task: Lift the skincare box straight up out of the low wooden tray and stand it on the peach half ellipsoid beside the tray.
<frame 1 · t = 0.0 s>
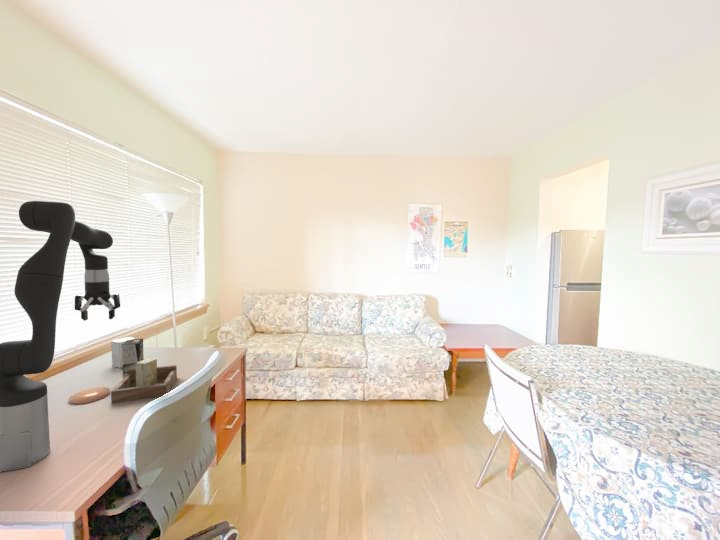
hand: (98, 319, 122), 29 cm above the table, tool pointing down, fingers open, 8 cm apart
coffee box: (133, 375, 137), on the table
skincare box: (147, 389, 124), resting in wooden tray
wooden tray: (147, 389, 124), on the table
peach half ellipsoid: (90, 396, 117), on the table
small box: (124, 365, 150), on the table
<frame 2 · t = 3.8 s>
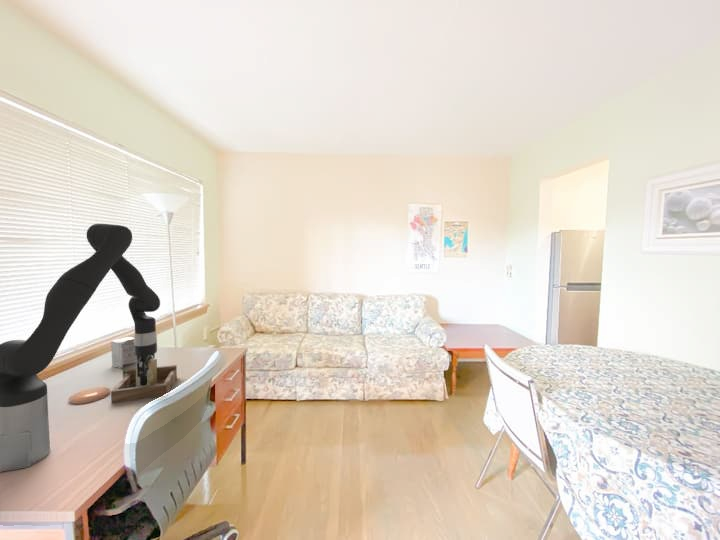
hand: (146, 380, 124), 4 cm above the table, tool pointing down, fingers closed on skincare box, 7 cm apart
skincare box: (147, 389, 124), resting in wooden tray, touching gripper
everything else where it was.
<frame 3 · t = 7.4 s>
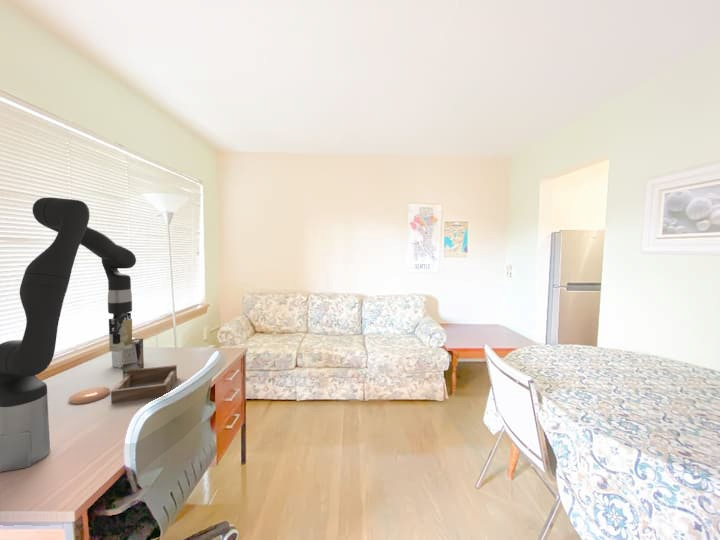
hand: (121, 340, 119), 21 cm above the table, tool pointing down, fingers closed on skincare box, 7 cm apart
skincare box: (121, 350, 120), point 18 cm above the table, touching gripper
everything else where it was.
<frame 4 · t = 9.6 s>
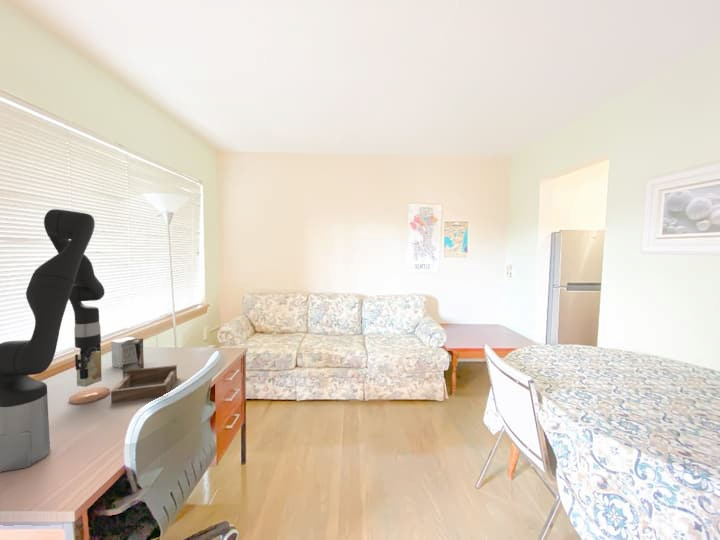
hand: (89, 374, 117), 9 cm above the table, tool pointing down, fingers closed on skincare box, 7 cm apart
skincare box: (89, 383, 117), point 5 cm above the table, touching gripper
everything else where it was.
when the fingers open (6 cm above the table, at t = 11.2 s): skincare box drops 1 cm, resting on peach half ellipsoid.
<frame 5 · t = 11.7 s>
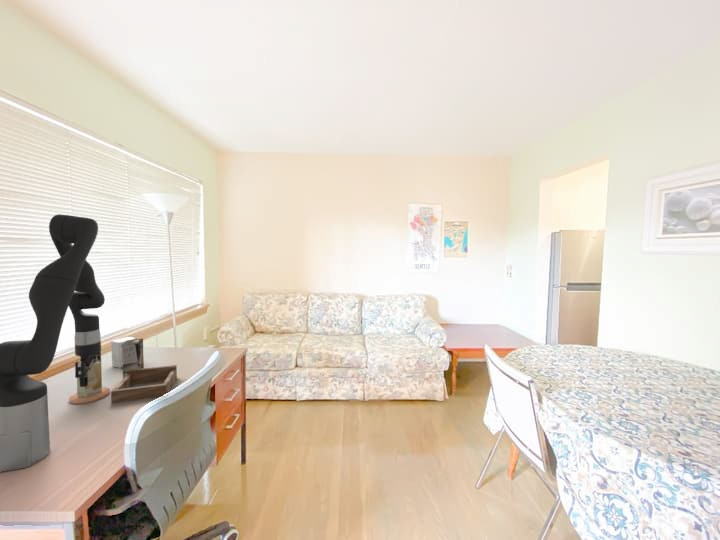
hand: (89, 381, 117), 6 cm above the table, tool pointing down, fingers open, 8 cm apart
skincare box: (90, 394, 117), point 1 cm above the table, touching peach half ellipsoid
everything else where it was.
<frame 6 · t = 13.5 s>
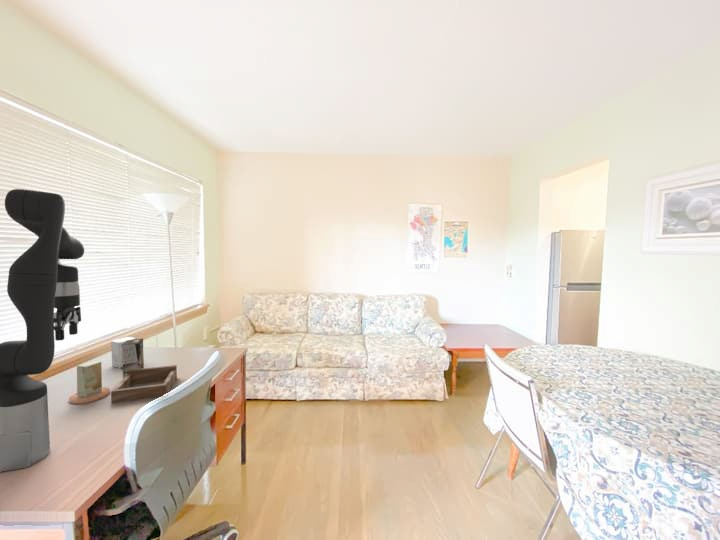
hand: (67, 337, 111), 25 cm above the table, tool pointing down, fingers open, 8 cm apart
nothing on the table moved.
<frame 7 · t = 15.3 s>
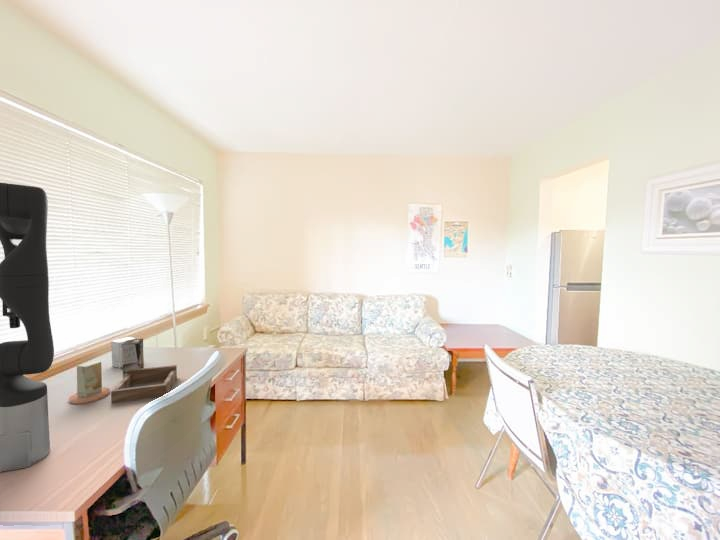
hand: (24, 324, 101), 32 cm above the table, tool pointing down, fingers open, 8 cm apart
nothing on the table moved.
at the end: skincare box inside the target area on the peach half ellipsoid (0.1 cm from its centre), point 0.8 cm above the peach half ellipsoid's base; skincare box tilted 0°; the gripper is holding nothing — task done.
